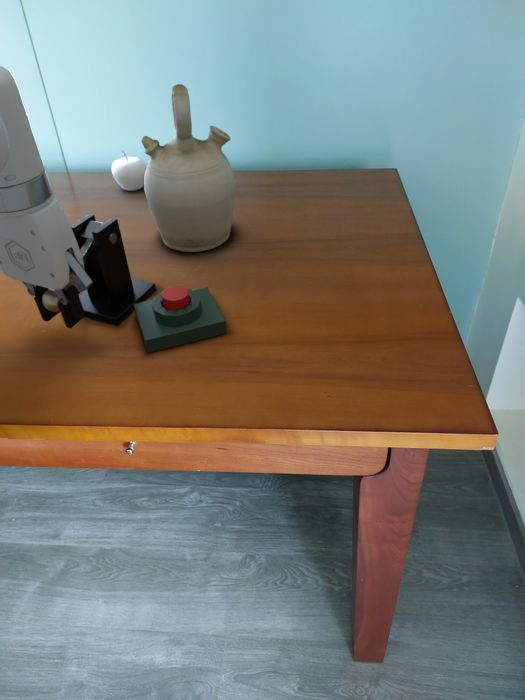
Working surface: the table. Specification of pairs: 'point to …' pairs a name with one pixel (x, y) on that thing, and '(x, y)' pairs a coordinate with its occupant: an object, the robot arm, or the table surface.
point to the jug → (189, 183)
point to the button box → (179, 321)
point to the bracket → (109, 275)
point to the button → (175, 298)
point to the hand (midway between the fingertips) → (64, 317)
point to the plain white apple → (129, 172)
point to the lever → (50, 296)
